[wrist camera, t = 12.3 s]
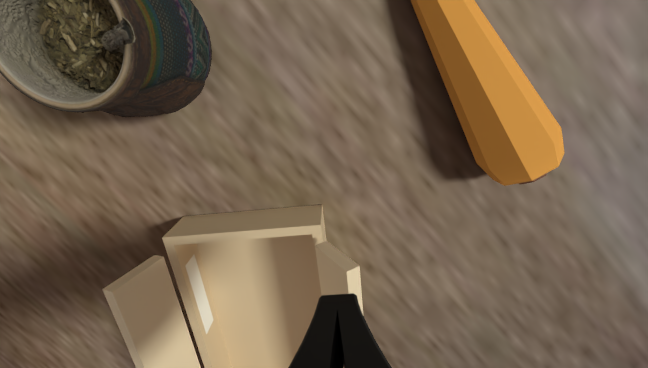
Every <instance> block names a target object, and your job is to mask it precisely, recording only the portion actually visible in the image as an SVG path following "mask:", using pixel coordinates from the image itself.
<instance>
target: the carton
mask: <svg viewBox="0 0 648 368" xmlns="http://www.w3.org/2000/svg"><path fill="white" fill-rule="evenodd" d="M162 239H163V242H164V245H165V248H166V251H167V255H168V258H169V261H170V264H171V267H172V270H173V273H174V276H175V279H176V282H177V285H178V288H179V291H180V294H181V297H182V300H183V303H184V306H185V309H186V312H187V316H188V319H189V322H190V325H191V328H192V331H193V334H194V337H195V340H196V343H197V346H198V349H199V352H200V355H201V358H202V361H203V364H204V367H205V368H288V367H289V366H290V364H291V362H292V360H293V358H294V356H295V354H296V353H297V351H298V349H299V347H300V345H301V343H302V341H303V339H304V336H305V334H306V332H307V330H308V328H309V325H310V323H311V320H312V318H313V315H314V313H315V310H316V307H317V304H318V300H319V298H320V297H321V296H322V295H321V287H320V280H319V272H318V265H317V257H316V249H315V245H317V244H319V243H322V242H324V241H326V233H325V224H324V216H323V207H322V205H310V206H298V207H287V208H275V209H263V210H251V211H240V212H228V213H216V214H204V215H193V216H184V217H182V218H181V219H180V220H179V221H178V222H177V223H176V224H175V225H174V226H173V227H172V228H171V229H170V230H169V231H168V232H167V233H166V234H165V235H164V236H163V237H162Z"/></svg>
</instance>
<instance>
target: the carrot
mask: <svg viewBox="0 0 648 368" xmlns="http://www.w3.org/2000/svg"><path fill="white" fill-rule="evenodd" d="M411 3H412V5H413V8H414V10H415V13H416V15H417V18H418V20H419V23H420V25H421V27H422V30H423V32H424V35H425V37H426V40H427V42H428V45H429V47H430V50H431V52H432V55H433V57H434V60H435V62H436V64H437V67H438V69H439V72H440V74H441V77H442V79H443V82H444V84H445V87H446V89H447V92H448V94H449V97H450V99H451V101H452V104H453V106H454V109H455V111H456V114H457V116H458V119H459V121H460V124H461V126H462V129H463V131H464V133H465V136H466V138H467V141H468V143H469V146H470V148H471V151H472V153H473V156H474V158H475V161H476V163H477V164H478V165H479V166H480V167H481V168H482V169H483V170H484V171H485V172H486V173H487V174H488V175H489V176H490V177H491V178H492V179H493V180H495V181H497V182H498V183H500V184H502V185H504V186H505V185H511V184H517V183H518V184H525V183H531V182H535V181H536V180H538V179H540V178H542V177H544V176H546V174H547V172H549V171H551V170H553V169H555V168H557V167H558V166H559V164H560V162H561V160H562V157H563V155H564V146H563V138H562V130H561V127H560V126H559V124H558V123H557V121H556V120H555V118H554V117H553V115H552V114H551V112H550V111H549V109H548V108H547V107H546V105H545V104H544V102H543V101H542V99H541V98H540V96H539V95H538V93H537V92H536V90H535V89H534V87H533V86H532V85H531V83H530V82H529V80H528V79H527V77H526V76H525V74H524V73H523V71H522V70H521V68H520V67H519V65H518V64H517V63H516V61H515V60H514V58H513V57H512V55H511V54H510V52H509V51H508V49H507V48H506V46H505V45H504V43H503V42H502V41H501V39H500V38H499V36H498V35H497V33H496V32H495V30H494V29H493V27H492V26H491V24H490V23H489V21H488V20H487V19H486V17H485V16H484V14H483V13H482V11H481V10H480V8H479V7H478V5H477V4H476V2H475V1H474V0H411Z"/></svg>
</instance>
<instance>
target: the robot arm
mask: <svg viewBox="0 0 648 368" xmlns="http://www.w3.org/2000/svg"><path fill="white" fill-rule="evenodd" d="M343 367H344V368H392V367H391V366H390V364H389V363H388V361H387V360H386V358H385V356H384V355H383V353H382V351H381V350H380V348H379V346H378V344H377V343H376V341H375V339H374V337H373V335H372V333H371V331H370V329H369V327H368V325H367V323H366V321H365V319H364V316H363V314H362V311H361V309H360V306H359V303H358V299H357V295H355V294H354V293H350V294H336V295H322V296H321V297H320V298H319V300H318V304H317V307H316V310H315V313H314V315H313V318H312V320H311V323H310V325H309V328H308V330H307V332H306V334H305V336H304V339H303V341H302V343H301V345H300V347H299V349H298V351H297V353H296V354H295V356H294V358H293V360H292V362H291V364H290V366H289V367H288V368H343Z"/></svg>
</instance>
